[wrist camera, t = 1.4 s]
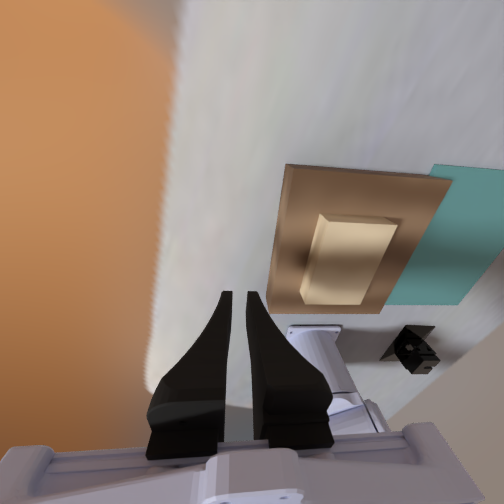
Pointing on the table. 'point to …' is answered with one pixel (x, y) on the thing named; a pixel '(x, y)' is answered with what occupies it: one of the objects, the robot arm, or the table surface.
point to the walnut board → (347, 203)
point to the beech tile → (344, 258)
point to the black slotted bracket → (413, 350)
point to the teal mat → (455, 239)
